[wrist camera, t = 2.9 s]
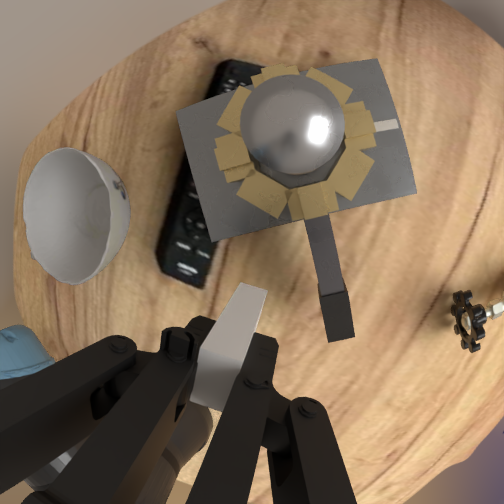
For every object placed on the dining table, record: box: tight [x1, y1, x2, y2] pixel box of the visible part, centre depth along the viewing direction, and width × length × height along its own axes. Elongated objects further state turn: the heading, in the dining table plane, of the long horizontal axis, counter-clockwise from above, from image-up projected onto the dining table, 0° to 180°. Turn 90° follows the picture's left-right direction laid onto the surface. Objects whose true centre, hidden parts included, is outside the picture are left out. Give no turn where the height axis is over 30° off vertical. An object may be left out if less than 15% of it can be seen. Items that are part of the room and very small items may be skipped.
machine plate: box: [176, 59, 417, 242], centre depth 19 cm, size 18×12×13 cm, turn 106°
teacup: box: [23, 147, 130, 285], centre depth 27 cm, size 15×12×8 cm
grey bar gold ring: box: [214, 63, 376, 343], centre depth 22 cm, size 11×21×4 cm, turn 16°
